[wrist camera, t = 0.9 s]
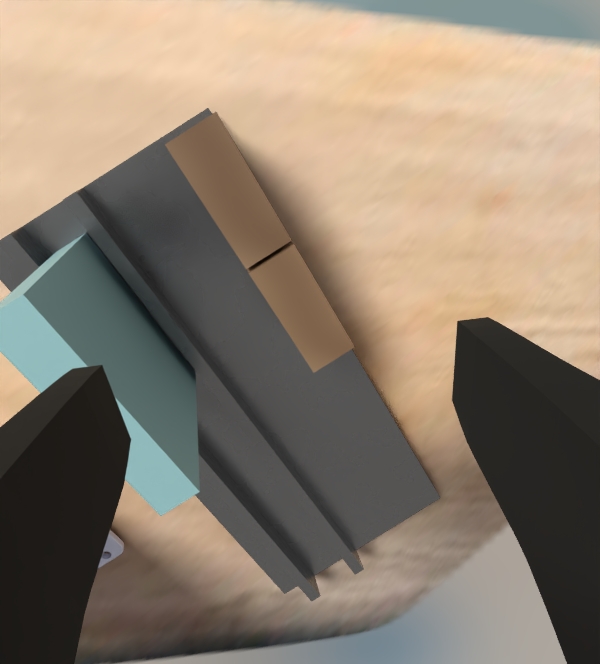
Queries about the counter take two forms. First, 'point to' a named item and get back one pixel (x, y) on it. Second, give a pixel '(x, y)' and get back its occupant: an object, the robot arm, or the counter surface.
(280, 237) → the offcut
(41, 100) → the counter surface
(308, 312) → the offcut
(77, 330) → the teal slab
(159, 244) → the rack
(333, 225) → the counter surface
